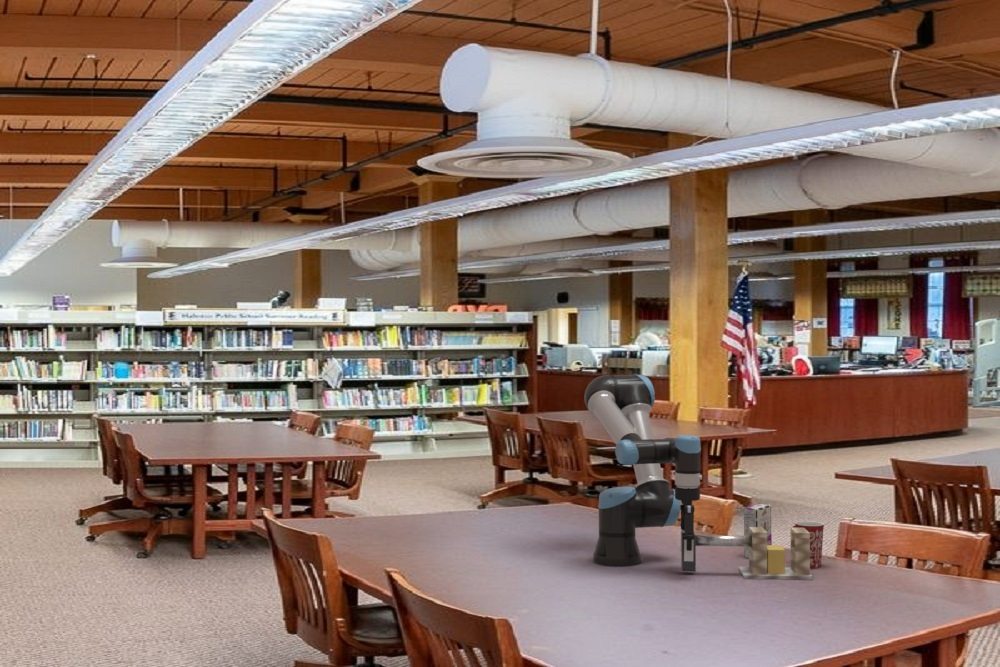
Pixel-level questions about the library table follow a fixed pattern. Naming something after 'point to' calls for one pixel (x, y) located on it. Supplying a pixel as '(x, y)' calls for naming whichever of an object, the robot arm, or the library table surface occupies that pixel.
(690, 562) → the shaft
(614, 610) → the library table surface
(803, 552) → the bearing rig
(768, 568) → the spacer
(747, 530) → the candy bar box
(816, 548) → the mug
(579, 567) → the library table surface
